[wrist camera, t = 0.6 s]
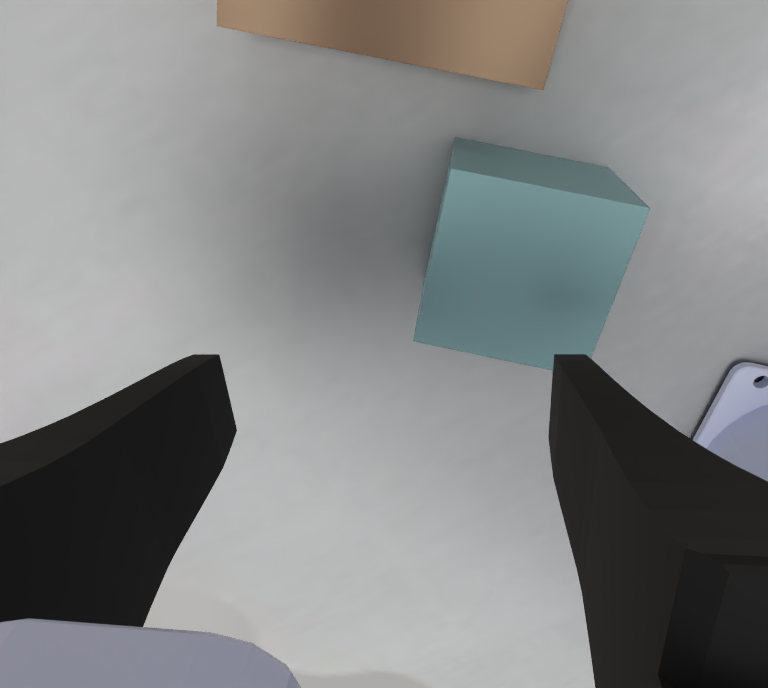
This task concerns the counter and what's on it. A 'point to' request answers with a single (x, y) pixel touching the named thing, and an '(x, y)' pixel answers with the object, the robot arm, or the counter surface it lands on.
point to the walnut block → (417, 31)
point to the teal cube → (525, 254)
